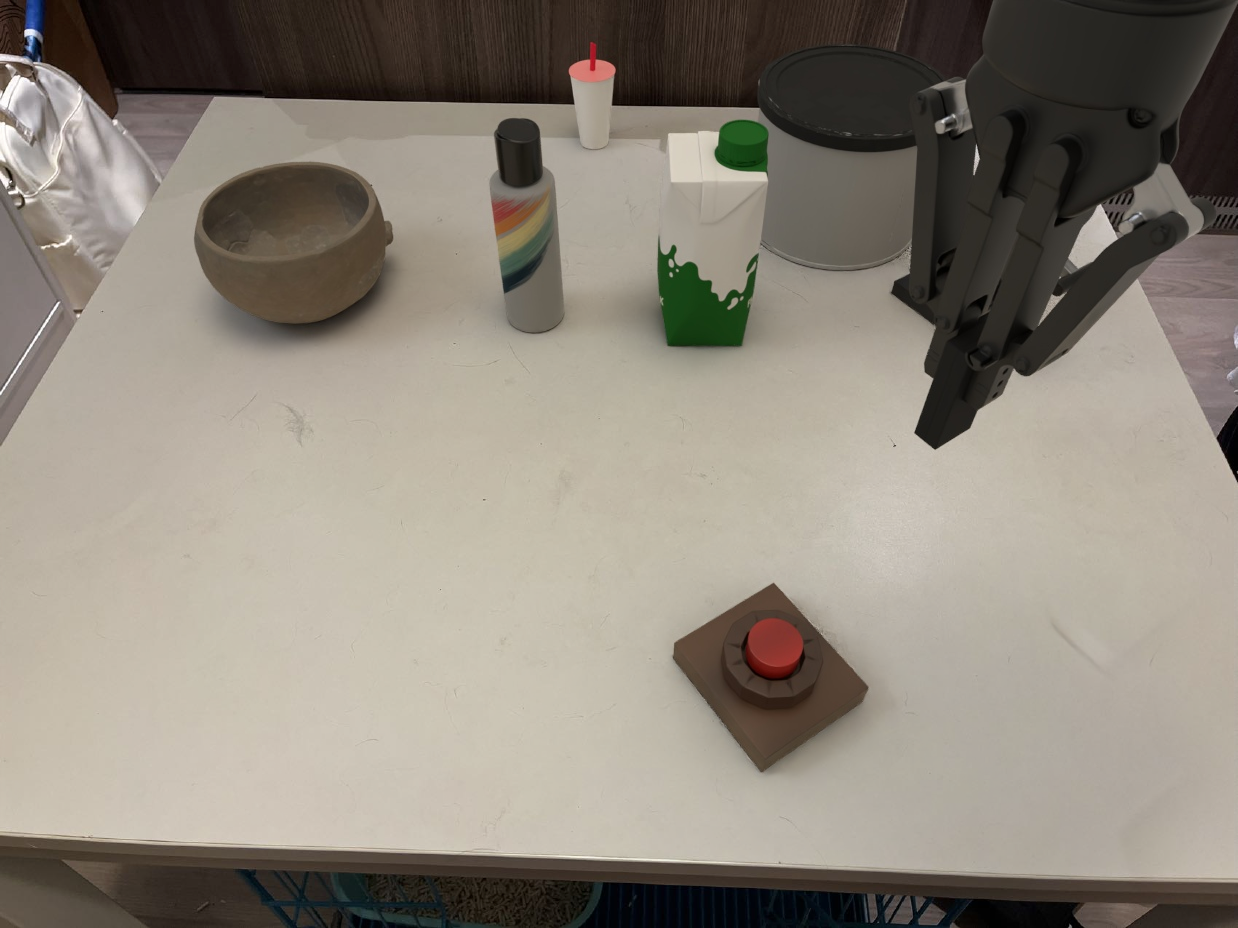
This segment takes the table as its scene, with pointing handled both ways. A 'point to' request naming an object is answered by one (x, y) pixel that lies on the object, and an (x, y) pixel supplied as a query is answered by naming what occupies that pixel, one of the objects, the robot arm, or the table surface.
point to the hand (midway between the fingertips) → (942, 430)
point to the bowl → (293, 240)
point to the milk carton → (711, 232)
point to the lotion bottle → (526, 228)
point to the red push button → (774, 648)
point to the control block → (768, 679)
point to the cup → (593, 99)
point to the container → (840, 154)
